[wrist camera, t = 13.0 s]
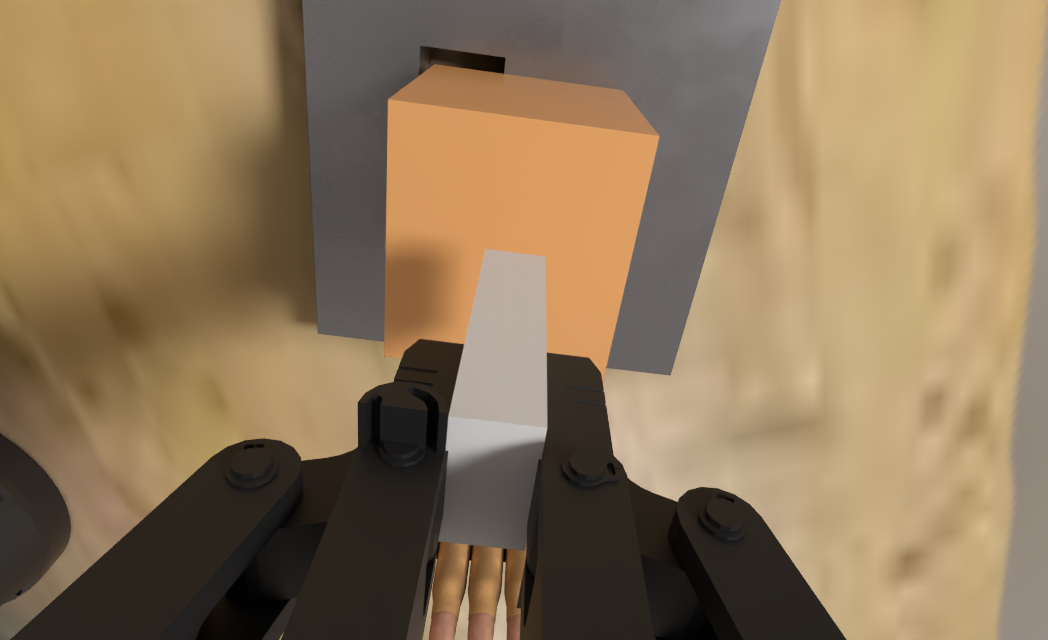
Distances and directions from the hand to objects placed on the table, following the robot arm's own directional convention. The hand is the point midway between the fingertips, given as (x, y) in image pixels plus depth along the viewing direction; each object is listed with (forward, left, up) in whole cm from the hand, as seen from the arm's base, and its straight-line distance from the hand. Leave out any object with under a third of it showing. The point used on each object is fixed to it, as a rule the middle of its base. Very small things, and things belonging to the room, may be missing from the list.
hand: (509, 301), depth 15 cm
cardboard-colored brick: (0, 0, -13) cm, 13 cm away
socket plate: (0, 0, -13) cm, 13 cm away
